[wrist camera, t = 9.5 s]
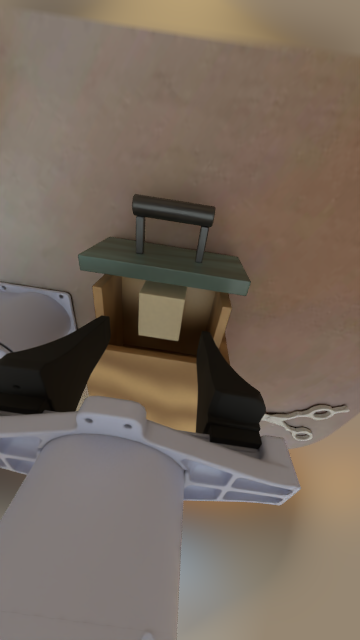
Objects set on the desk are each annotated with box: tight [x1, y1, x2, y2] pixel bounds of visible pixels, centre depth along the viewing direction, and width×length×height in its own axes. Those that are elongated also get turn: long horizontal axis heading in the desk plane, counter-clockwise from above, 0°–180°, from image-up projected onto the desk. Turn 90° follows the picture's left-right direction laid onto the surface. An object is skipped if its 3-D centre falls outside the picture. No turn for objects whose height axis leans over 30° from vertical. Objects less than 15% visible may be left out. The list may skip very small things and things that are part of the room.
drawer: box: [78, 194, 251, 358], centre depth 20 cm, size 18×13×6 cm
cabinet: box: [87, 332, 230, 433], centre depth 26 cm, size 15×14×8 cm
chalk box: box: [138, 280, 187, 341], centre depth 20 cm, size 4×4×5 cm
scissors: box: [261, 405, 349, 441], centre depth 35 cm, size 11×1×20 cm
